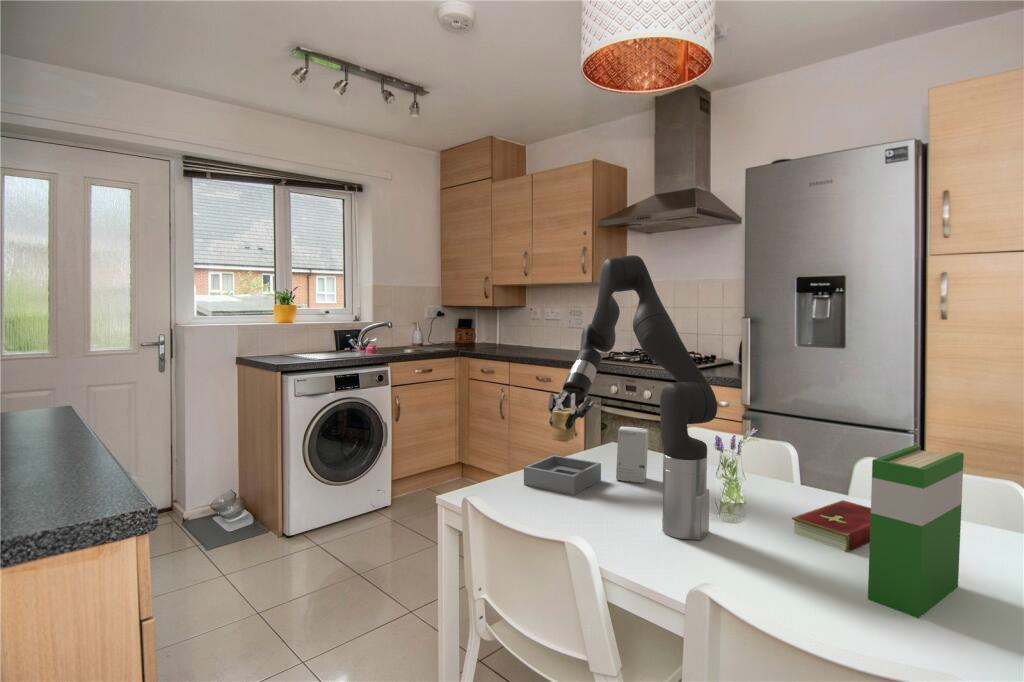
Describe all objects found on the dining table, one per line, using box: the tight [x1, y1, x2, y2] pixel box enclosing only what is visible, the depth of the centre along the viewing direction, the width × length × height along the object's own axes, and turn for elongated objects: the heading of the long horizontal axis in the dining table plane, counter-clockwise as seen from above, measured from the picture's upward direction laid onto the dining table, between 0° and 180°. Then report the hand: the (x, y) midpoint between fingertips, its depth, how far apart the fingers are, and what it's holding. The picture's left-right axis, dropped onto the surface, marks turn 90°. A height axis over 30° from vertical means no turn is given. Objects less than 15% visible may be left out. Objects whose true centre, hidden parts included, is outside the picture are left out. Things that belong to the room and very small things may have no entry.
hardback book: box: [867, 444, 965, 619], centre depth 98 cm, size 18×7×24 cm, turn 126°
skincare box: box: [615, 425, 650, 484], centre depth 164 cm, size 8×6×15 cm
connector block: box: [551, 409, 575, 443], centre depth 161 cm, size 4×4×8 cm
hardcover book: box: [791, 499, 871, 553], centre depth 126 cm, size 12×21×4 cm, turn 123°
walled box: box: [523, 454, 602, 496], centre depth 162 cm, size 16×16×5 cm
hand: (559, 426), depth 159 cm, fingers closed on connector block, 4 cm apart
